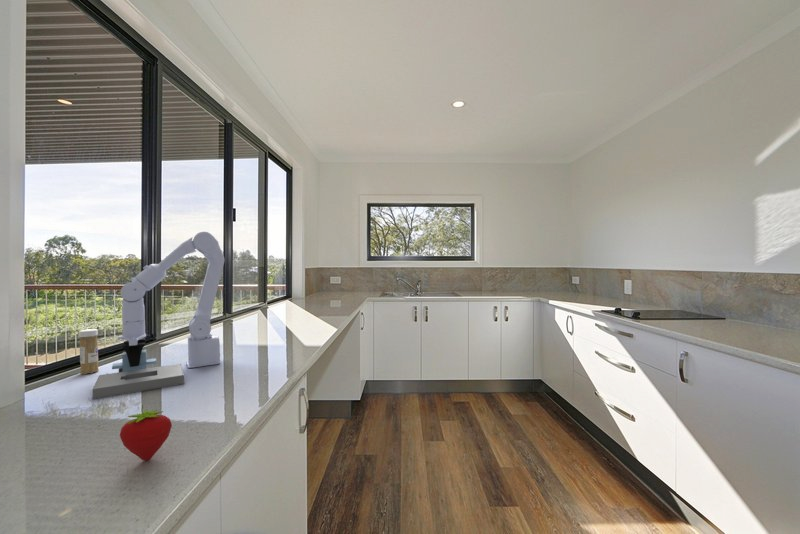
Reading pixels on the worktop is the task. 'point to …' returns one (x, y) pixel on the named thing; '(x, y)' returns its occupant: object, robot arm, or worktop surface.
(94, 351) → the sprinkles bottle
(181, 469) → the worktop surface
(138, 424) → the strawberry
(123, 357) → the block
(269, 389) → the worktop surface
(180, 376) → the mounting plate
